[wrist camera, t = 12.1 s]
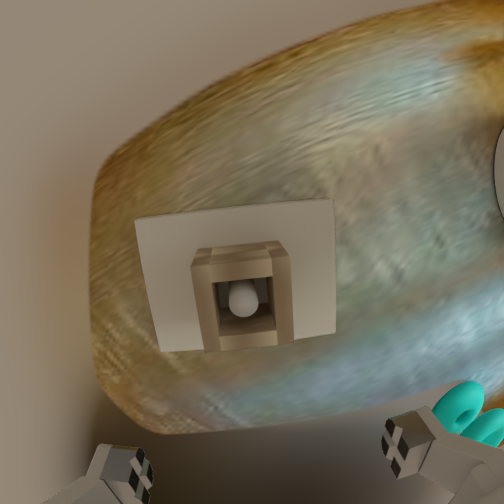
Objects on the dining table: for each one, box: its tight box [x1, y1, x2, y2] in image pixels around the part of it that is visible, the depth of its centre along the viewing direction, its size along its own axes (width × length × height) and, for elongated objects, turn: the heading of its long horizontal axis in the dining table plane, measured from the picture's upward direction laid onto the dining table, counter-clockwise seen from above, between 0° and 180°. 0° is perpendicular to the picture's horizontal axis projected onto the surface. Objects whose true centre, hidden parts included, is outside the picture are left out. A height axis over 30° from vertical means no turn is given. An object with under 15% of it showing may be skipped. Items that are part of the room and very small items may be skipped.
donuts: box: [432, 381, 504, 448], centre depth 29 cm, size 10×10×10 cm
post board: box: [134, 198, 336, 352], centre depth 24 cm, size 16×12×6 cm
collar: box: [190, 240, 294, 352], centre depth 23 cm, size 6×6×5 cm
